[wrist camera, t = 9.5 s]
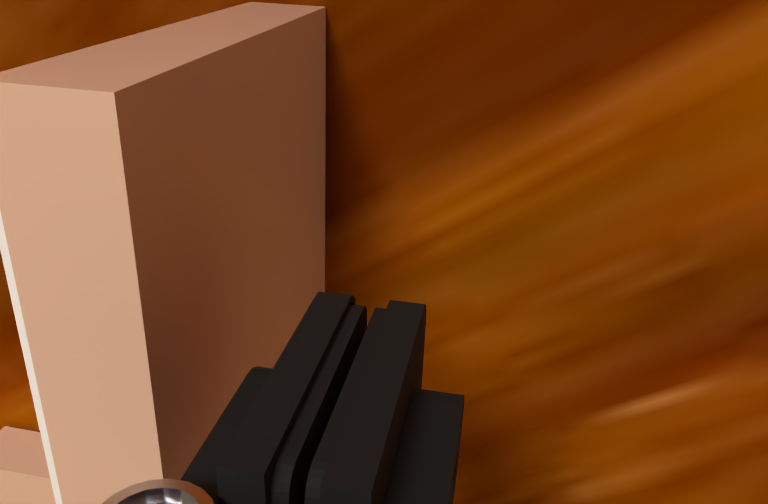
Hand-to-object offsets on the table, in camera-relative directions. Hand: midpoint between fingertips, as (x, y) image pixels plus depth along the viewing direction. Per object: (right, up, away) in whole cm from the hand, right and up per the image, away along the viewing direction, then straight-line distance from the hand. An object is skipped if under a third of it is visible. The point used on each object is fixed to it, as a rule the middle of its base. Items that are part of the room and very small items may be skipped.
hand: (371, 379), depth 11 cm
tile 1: (-2, +4, +7) cm, 8 cm away
